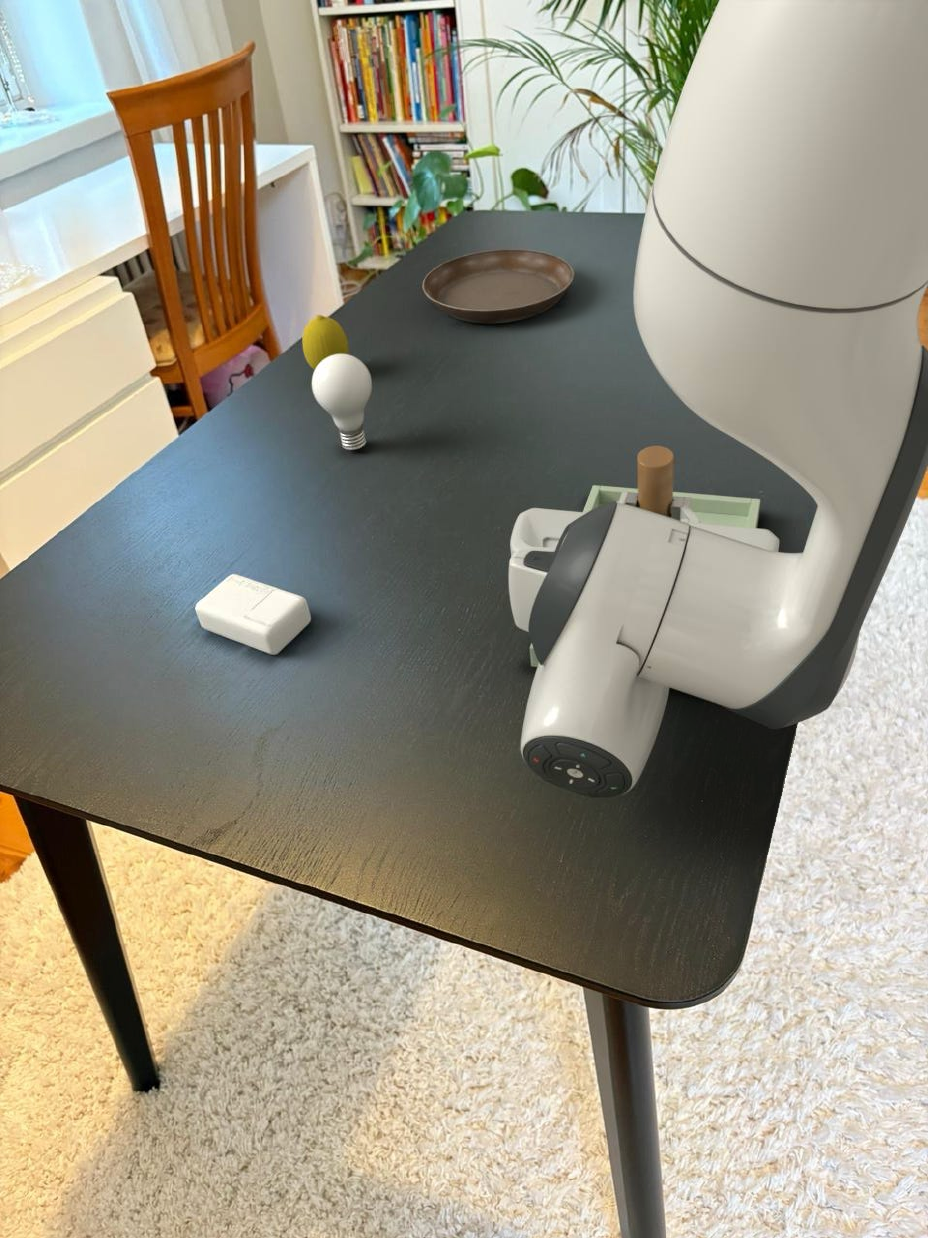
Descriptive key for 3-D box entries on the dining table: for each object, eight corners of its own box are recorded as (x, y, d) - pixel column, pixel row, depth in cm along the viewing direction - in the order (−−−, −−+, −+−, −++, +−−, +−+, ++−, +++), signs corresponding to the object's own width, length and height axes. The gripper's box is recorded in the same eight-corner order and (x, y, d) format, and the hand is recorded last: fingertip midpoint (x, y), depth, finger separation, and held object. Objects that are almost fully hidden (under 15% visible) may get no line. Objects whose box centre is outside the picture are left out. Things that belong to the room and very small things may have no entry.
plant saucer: (600, 279, 136) (600, 256, 134) (528, 342, 124) (526, 317, 121) (475, 263, 146) (473, 241, 143) (396, 320, 133) (392, 296, 131)
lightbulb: (361, 468, 105) (342, 375, 98) (315, 457, 108) (293, 365, 100) (394, 440, 109) (378, 348, 101) (349, 429, 111) (330, 339, 104)
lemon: (361, 368, 123) (349, 307, 118) (339, 389, 119) (326, 327, 114) (324, 364, 125) (311, 304, 120) (301, 384, 121) (287, 323, 116)
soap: (199, 630, 87) (189, 604, 85) (240, 594, 90) (231, 569, 88) (276, 660, 83) (267, 633, 81) (315, 621, 86) (308, 595, 84)
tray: (758, 517, 91) (760, 498, 89) (728, 695, 74) (730, 675, 73) (593, 502, 95) (592, 484, 94) (530, 666, 79) (529, 647, 77)
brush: (693, 560, 85) (698, 443, 76) (686, 592, 83) (690, 474, 74) (624, 553, 87) (622, 438, 78) (616, 583, 85) (612, 468, 76)
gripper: (778, 591, 65) (792, 479, 75) (488, 559, 71) (536, 459, 81) (769, 659, 69) (784, 544, 79) (495, 623, 76) (540, 521, 85)
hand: (656, 501), depth 80 cm, fingers closed on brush, 3 cm apart
